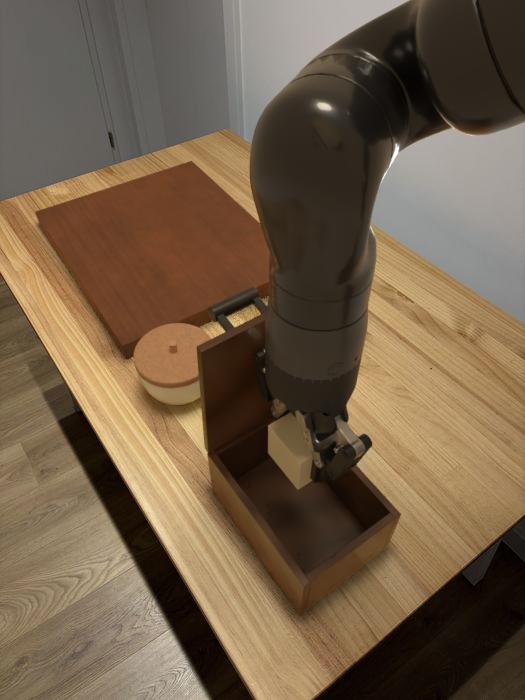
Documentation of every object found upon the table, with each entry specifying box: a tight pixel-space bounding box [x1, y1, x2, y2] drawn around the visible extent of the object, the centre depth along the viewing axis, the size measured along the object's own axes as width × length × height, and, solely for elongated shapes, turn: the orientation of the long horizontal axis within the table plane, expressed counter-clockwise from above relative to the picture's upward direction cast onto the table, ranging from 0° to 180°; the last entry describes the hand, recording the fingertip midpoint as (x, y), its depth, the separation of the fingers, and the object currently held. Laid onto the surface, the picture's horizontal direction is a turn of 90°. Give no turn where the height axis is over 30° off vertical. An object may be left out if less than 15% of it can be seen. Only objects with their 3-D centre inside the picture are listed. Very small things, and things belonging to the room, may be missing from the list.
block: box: [268, 412, 329, 490], centre depth 53 cm, size 5×5×5 cm
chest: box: [206, 416, 402, 616], centre depth 62 cm, size 18×13×9 cm
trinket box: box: [132, 323, 212, 406], centre depth 75 cm, size 11×11×9 cm
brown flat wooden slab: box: [34, 160, 270, 360], centre depth 98 cm, size 40×3×33 cm
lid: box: [196, 286, 273, 453], centre depth 57 cm, size 18×13×5 cm
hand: (302, 454), depth 55 cm, fingers closed on block, 5 cm apart
